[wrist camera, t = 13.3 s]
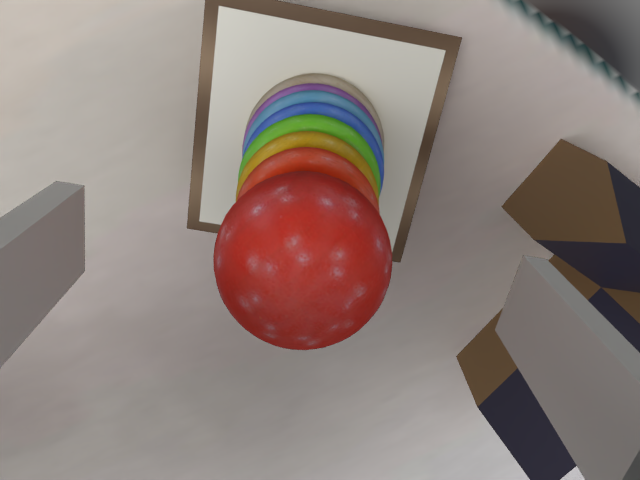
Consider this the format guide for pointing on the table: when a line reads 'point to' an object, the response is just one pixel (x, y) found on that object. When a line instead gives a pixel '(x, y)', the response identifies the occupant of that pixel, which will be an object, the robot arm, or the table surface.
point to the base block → (324, 58)
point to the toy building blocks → (581, 271)
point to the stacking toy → (307, 217)
